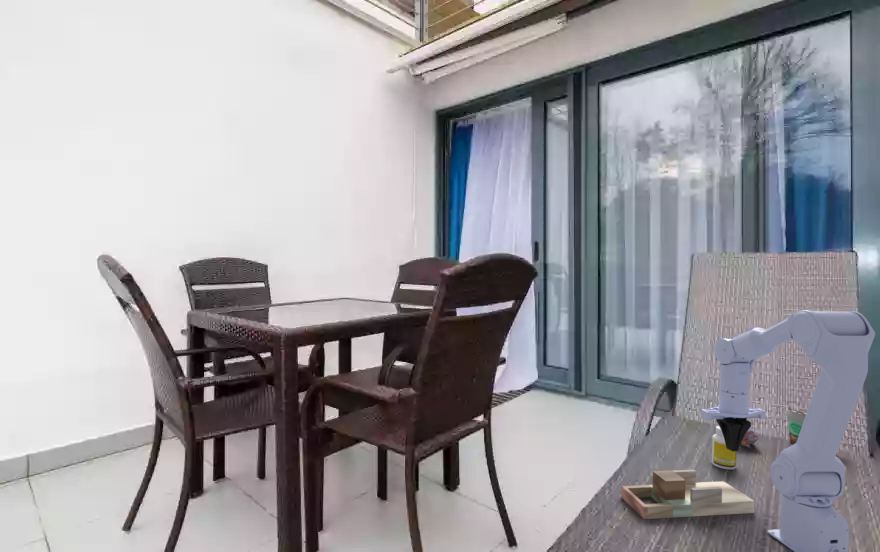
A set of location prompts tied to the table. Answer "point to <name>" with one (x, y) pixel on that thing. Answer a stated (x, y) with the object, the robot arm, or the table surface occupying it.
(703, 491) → the board
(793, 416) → the food container
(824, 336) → the robot arm
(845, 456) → the table surface
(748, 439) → the video game controller
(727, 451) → the supplement bottle
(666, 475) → the walnut block
